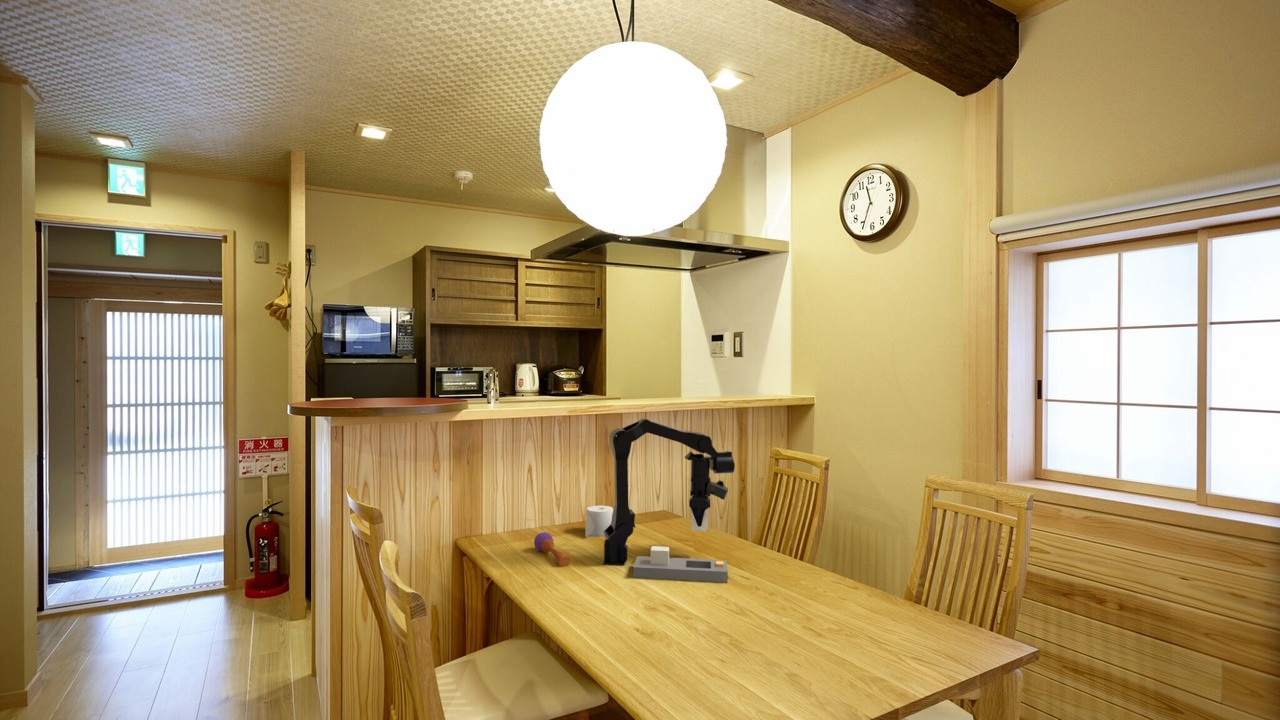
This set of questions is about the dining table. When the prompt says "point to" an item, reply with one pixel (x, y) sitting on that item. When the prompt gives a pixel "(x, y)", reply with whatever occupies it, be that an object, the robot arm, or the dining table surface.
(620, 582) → the dining table surface
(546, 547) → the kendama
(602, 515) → the toilet tissue
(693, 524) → the plug
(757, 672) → the dining table surface
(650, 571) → the power strip
